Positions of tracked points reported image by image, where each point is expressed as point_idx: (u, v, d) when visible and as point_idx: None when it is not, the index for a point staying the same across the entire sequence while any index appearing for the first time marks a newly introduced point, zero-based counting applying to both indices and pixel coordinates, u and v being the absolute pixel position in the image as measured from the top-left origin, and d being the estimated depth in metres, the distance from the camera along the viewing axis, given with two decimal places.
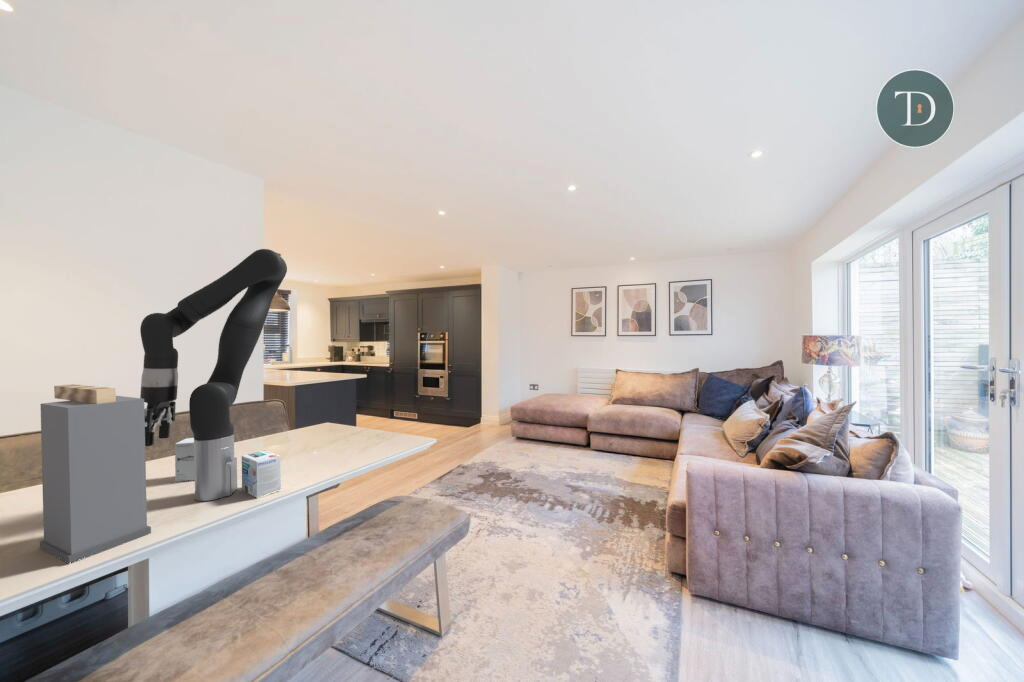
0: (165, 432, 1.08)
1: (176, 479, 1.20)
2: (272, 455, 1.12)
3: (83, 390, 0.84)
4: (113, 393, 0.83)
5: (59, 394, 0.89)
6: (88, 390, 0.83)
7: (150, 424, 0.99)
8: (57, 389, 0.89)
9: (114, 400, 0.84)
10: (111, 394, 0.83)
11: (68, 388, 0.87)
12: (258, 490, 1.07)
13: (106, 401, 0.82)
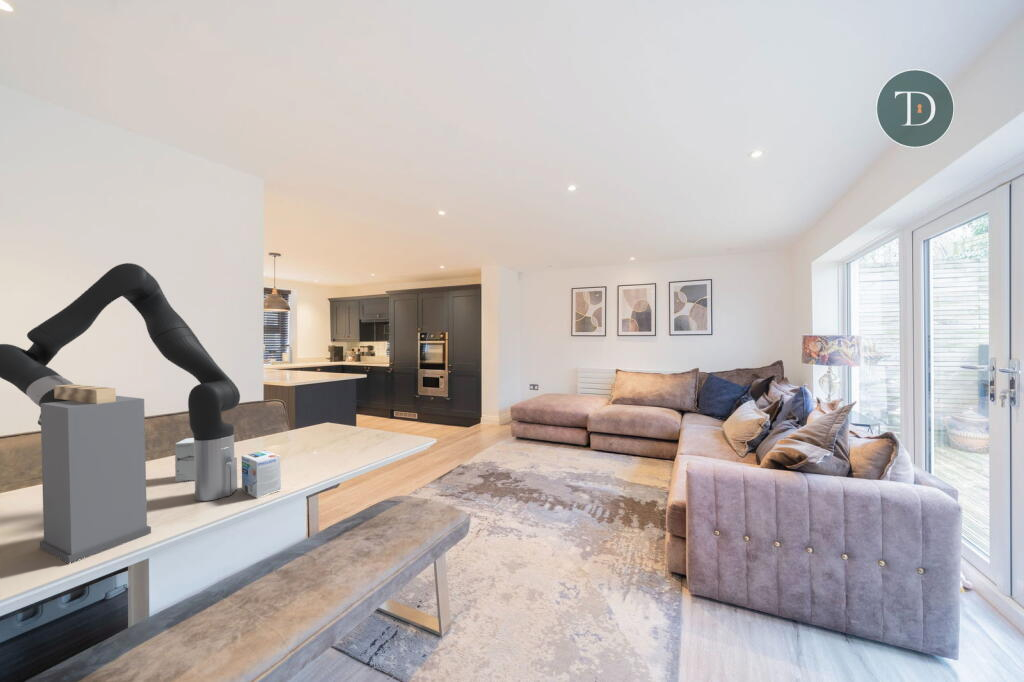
0: None
1: (176, 479, 1.20)
2: (272, 455, 1.12)
3: (83, 390, 0.84)
4: (113, 393, 0.83)
5: (59, 394, 0.89)
6: (88, 390, 0.83)
7: None
8: (57, 389, 0.89)
9: (114, 400, 0.84)
10: (111, 394, 0.83)
11: (68, 388, 0.87)
12: (258, 490, 1.07)
13: (106, 401, 0.82)
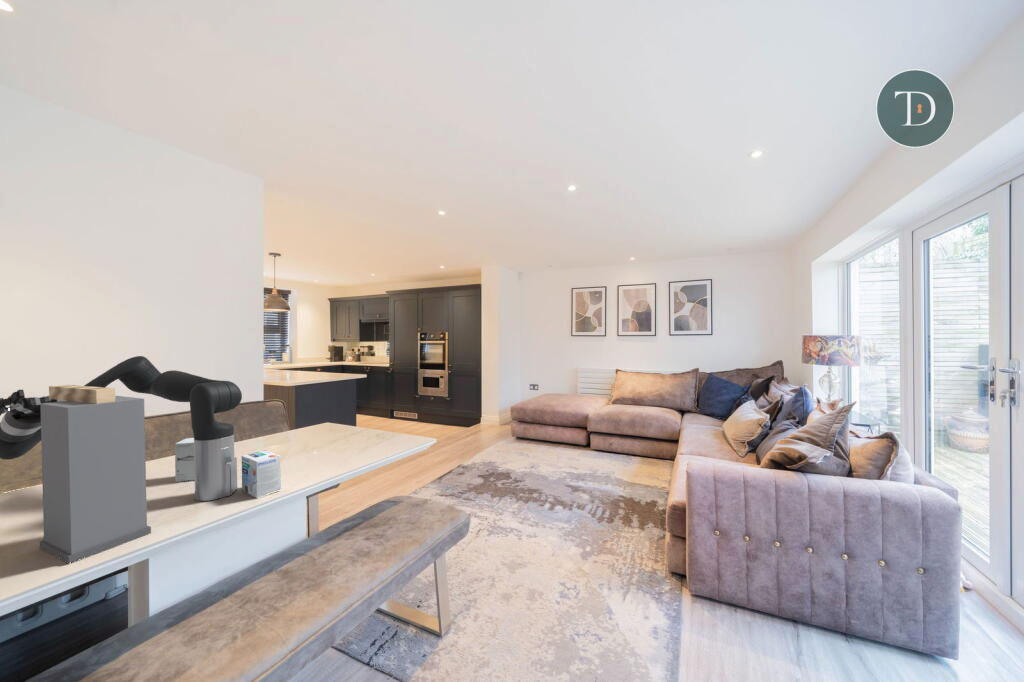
0: None
1: (176, 479, 1.20)
2: (272, 455, 1.12)
3: (81, 390, 0.83)
4: (113, 393, 0.84)
5: (54, 395, 0.88)
6: (87, 390, 0.83)
7: None
8: (52, 390, 0.89)
9: (114, 400, 0.84)
10: (110, 394, 0.83)
11: (65, 388, 0.86)
12: (258, 490, 1.07)
13: (106, 401, 0.83)
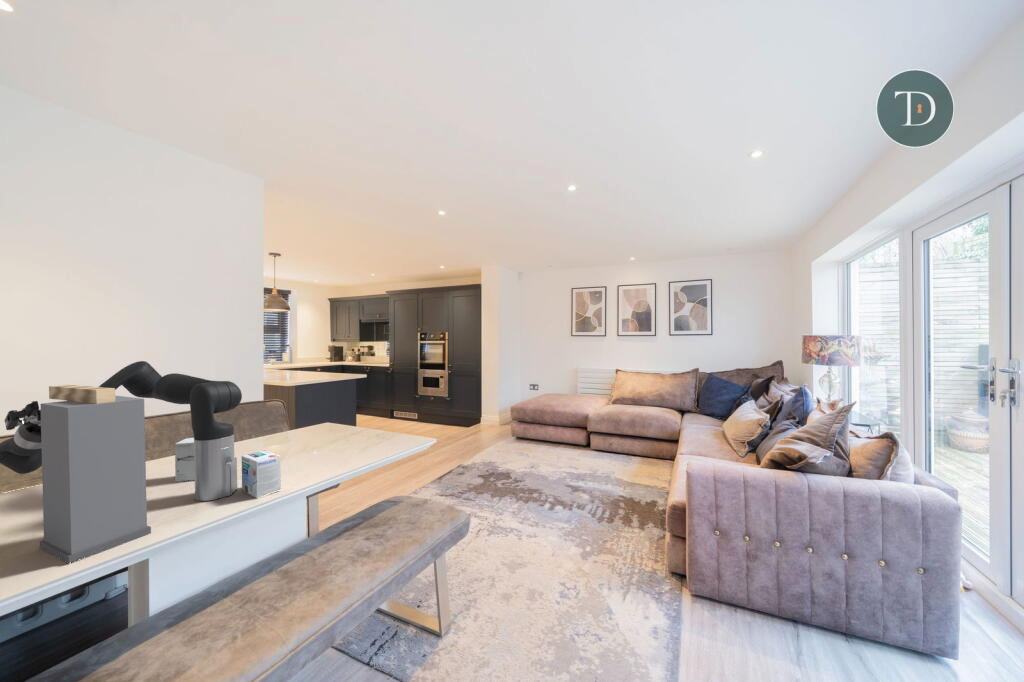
0: None
1: (176, 479, 1.20)
2: (272, 455, 1.12)
3: (81, 390, 0.83)
4: (113, 393, 0.84)
5: (54, 395, 0.88)
6: (87, 390, 0.83)
7: None
8: (52, 390, 0.89)
9: (114, 400, 0.84)
10: (110, 394, 0.83)
11: (65, 388, 0.86)
12: (258, 490, 1.07)
13: (106, 401, 0.83)
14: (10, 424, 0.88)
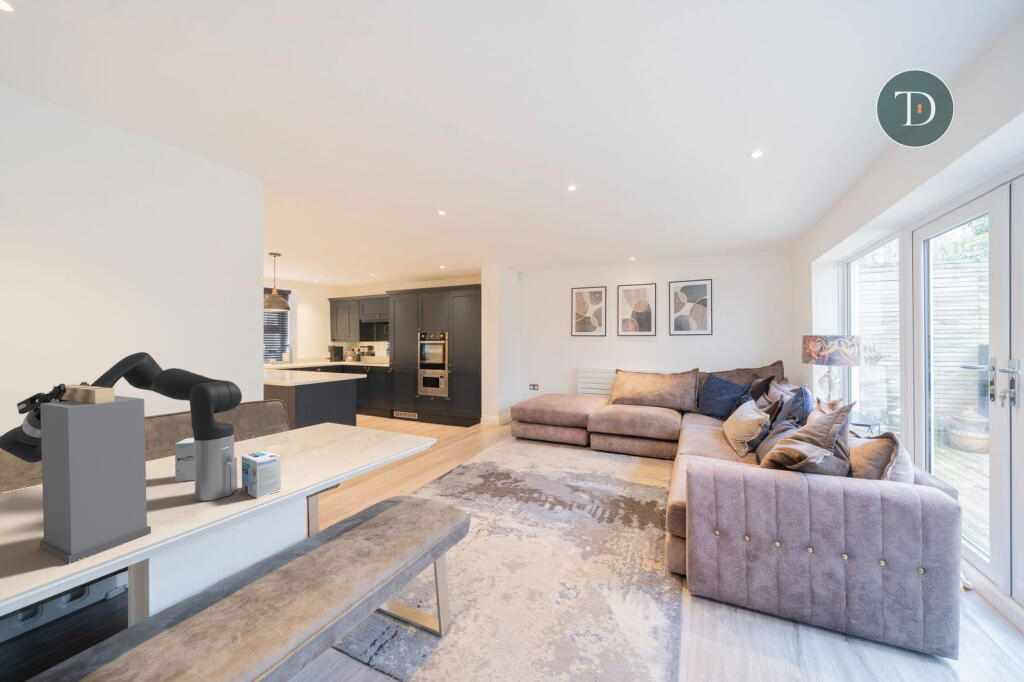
0: None
1: (176, 479, 1.20)
2: (272, 455, 1.12)
3: (82, 390, 0.84)
4: (112, 393, 0.83)
5: None
6: (87, 390, 0.83)
7: None
8: None
9: (113, 400, 0.84)
10: (110, 394, 0.83)
11: (67, 388, 0.87)
12: (258, 490, 1.07)
13: (105, 401, 0.82)
14: (32, 407, 0.86)
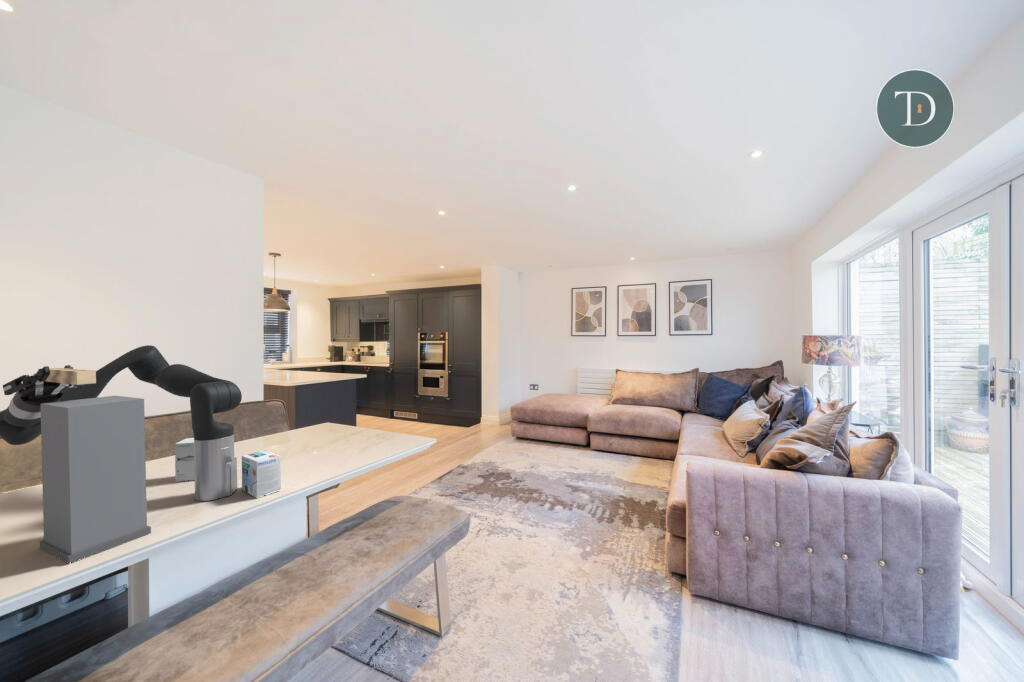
0: None
1: (176, 479, 1.20)
2: (272, 455, 1.12)
3: (65, 372, 0.87)
4: (93, 375, 0.87)
5: None
6: (69, 372, 0.86)
7: None
8: None
9: (94, 382, 0.87)
10: (91, 376, 0.87)
11: (51, 370, 0.90)
12: (258, 490, 1.07)
13: (86, 382, 0.86)
14: (17, 388, 0.90)
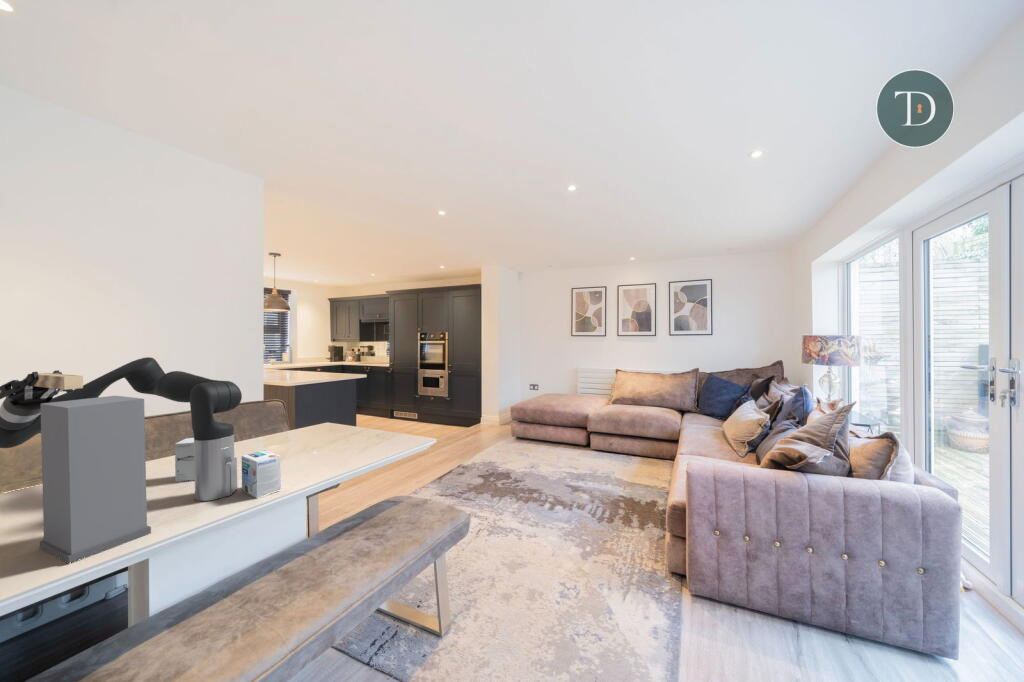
0: None
1: (176, 479, 1.20)
2: (272, 455, 1.12)
3: (53, 377, 0.90)
4: (80, 380, 0.90)
5: None
6: (57, 377, 0.89)
7: None
8: None
9: (81, 386, 0.90)
10: (78, 381, 0.90)
11: (40, 376, 0.93)
12: (258, 490, 1.07)
13: (74, 387, 0.89)
14: (6, 393, 0.92)
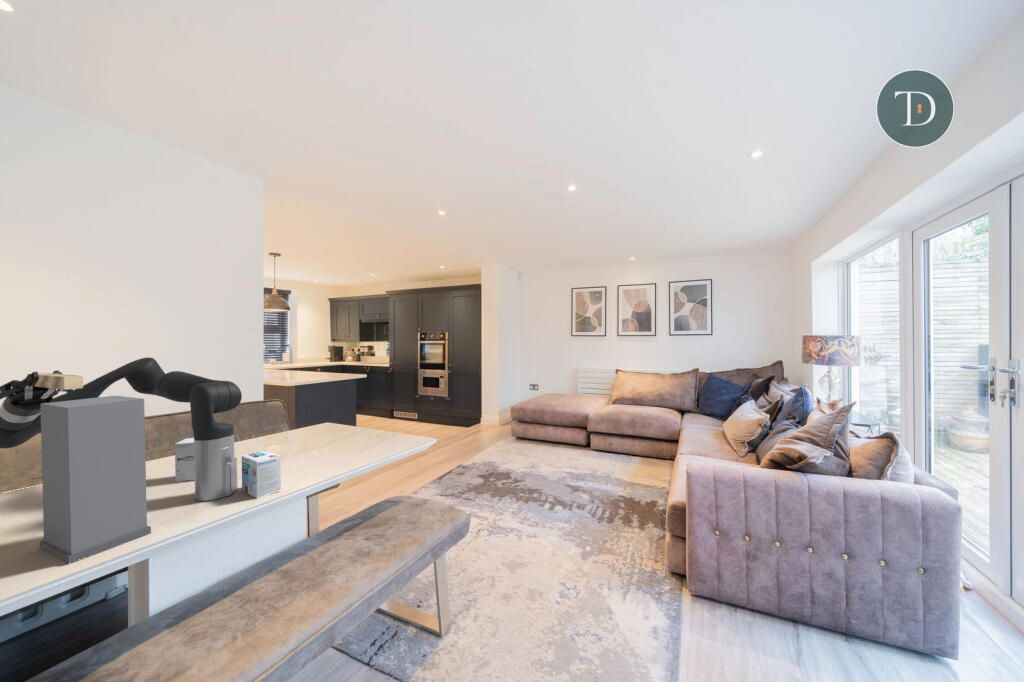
0: None
1: (176, 479, 1.20)
2: (272, 455, 1.12)
3: (53, 377, 0.90)
4: (80, 380, 0.90)
5: None
6: (57, 377, 0.89)
7: None
8: None
9: (81, 387, 0.90)
10: (78, 381, 0.90)
11: (40, 376, 0.93)
12: (258, 490, 1.07)
13: (73, 387, 0.89)
14: (6, 393, 0.92)
